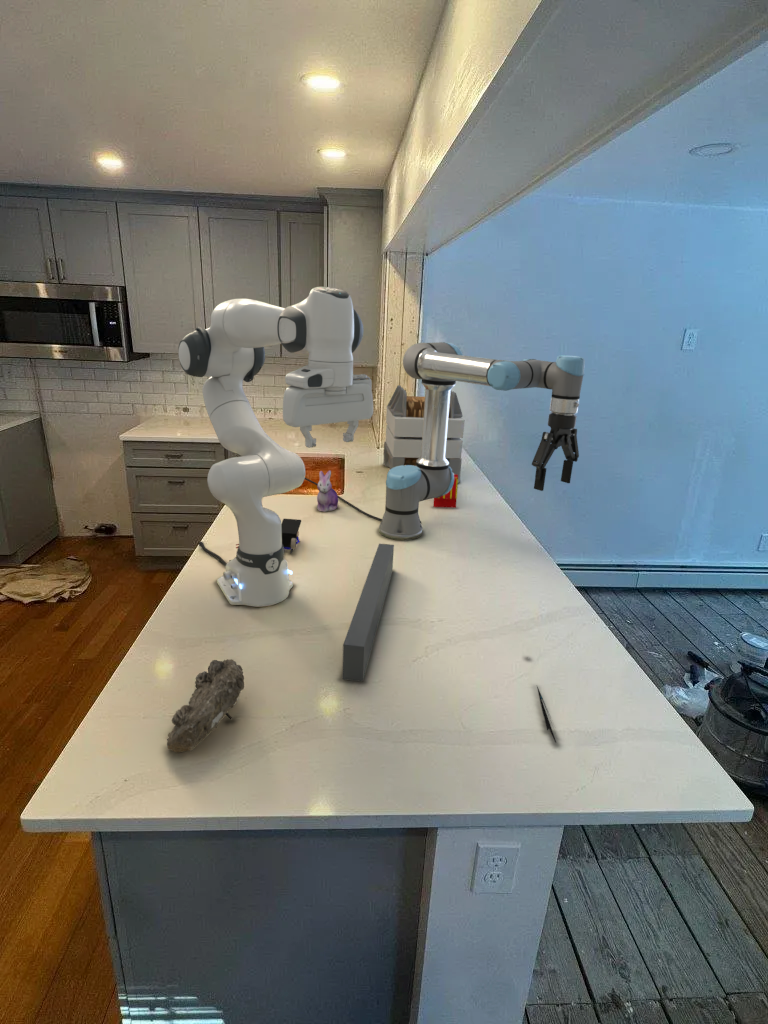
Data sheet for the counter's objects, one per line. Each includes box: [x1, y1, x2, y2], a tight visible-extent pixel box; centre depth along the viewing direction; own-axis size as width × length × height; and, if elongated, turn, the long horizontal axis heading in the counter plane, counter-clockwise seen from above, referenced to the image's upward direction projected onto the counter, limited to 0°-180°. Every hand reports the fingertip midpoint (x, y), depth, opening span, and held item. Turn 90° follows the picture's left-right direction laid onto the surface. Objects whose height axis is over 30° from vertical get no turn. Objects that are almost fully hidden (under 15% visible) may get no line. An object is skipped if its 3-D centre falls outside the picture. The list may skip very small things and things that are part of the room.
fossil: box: [166, 658, 245, 754], centre depth 106 cm, size 22×10×15 cm
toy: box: [433, 472, 459, 509], centre depth 239 cm, size 12×13×30 cm
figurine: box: [316, 469, 339, 512], centre depth 219 cm, size 9×10×15 cm
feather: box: [527, 657, 557, 743], centre depth 118 cm, size 2×28×2 cm
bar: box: [342, 543, 395, 682], centre depth 145 cm, size 55×4×9 cm, turn 173°
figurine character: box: [281, 518, 302, 554], centre depth 184 cm, size 7×8×15 cm
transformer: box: [383, 384, 465, 484], centre depth 268 cm, size 34×33×41 cm
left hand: (329, 444), depth 116 cm, fingers open, 8 cm apart
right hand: (552, 485), depth 166 cm, fingers open, 13 cm apart
